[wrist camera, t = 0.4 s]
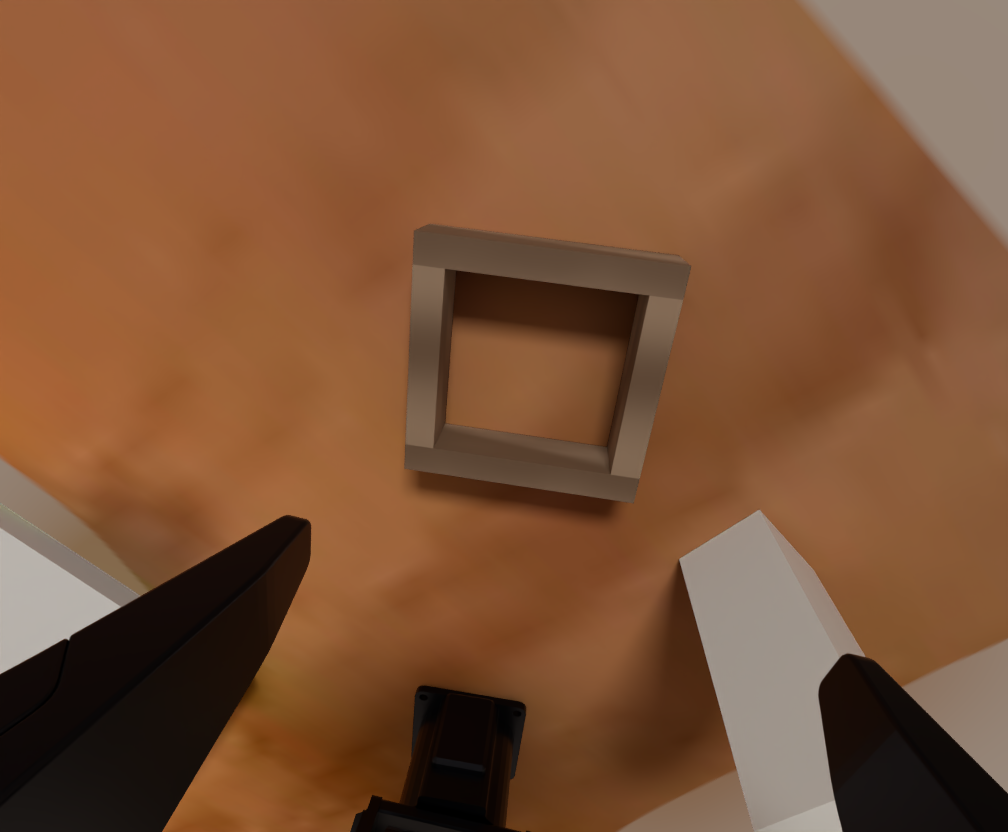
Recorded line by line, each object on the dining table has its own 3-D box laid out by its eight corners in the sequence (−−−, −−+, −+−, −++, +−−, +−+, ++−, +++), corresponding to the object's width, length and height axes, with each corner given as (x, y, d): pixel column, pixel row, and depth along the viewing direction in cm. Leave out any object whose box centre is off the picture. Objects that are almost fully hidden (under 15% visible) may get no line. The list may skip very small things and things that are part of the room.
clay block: (733, 614, 29) (838, 907, 18) (679, 558, 28) (753, 831, 17) (813, 570, 27) (986, 860, 16) (759, 509, 26) (902, 773, 15)
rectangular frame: (627, 473, 26) (633, 503, 24) (418, 442, 27) (404, 468, 24) (678, 255, 22) (691, 266, 20) (429, 223, 23) (413, 230, 20)
